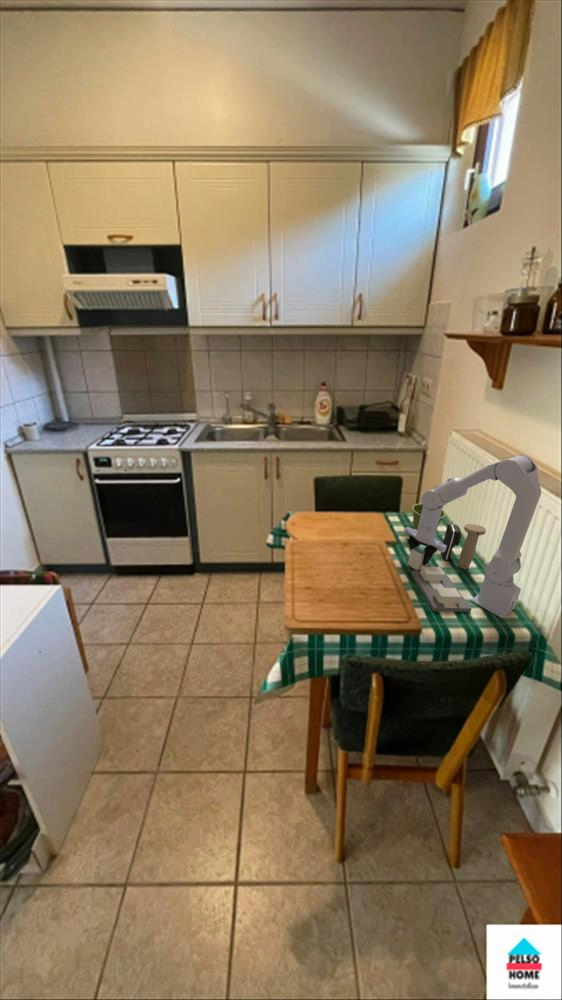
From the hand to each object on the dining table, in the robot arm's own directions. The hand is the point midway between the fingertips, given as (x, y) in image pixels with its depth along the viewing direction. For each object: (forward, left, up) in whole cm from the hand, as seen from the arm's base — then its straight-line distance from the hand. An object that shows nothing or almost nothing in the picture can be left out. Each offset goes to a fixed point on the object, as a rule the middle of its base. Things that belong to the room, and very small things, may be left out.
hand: (418, 560), depth 139 cm
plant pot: (+11, -18, -2) cm, 21 cm away
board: (-12, +8, -2) cm, 15 cm away
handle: (-9, -12, -2) cm, 16 cm away
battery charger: (-2, -14, -2) cm, 15 cm away
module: (0, 0, -2) cm, 2 cm away
